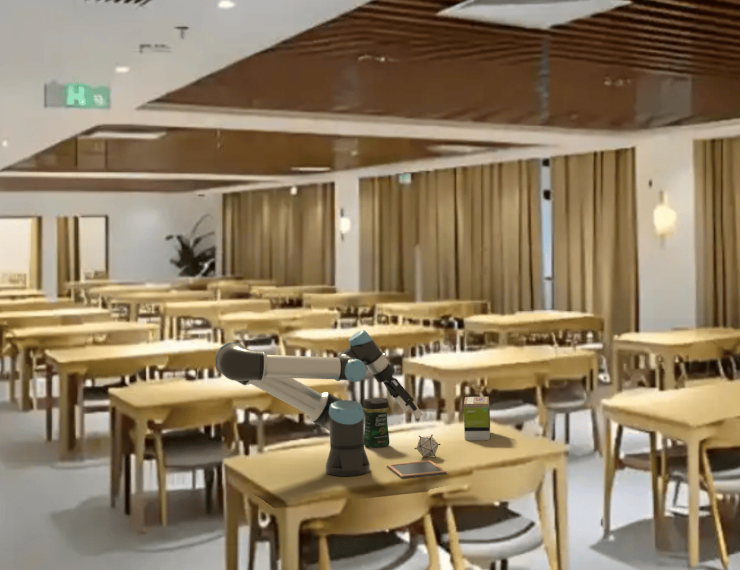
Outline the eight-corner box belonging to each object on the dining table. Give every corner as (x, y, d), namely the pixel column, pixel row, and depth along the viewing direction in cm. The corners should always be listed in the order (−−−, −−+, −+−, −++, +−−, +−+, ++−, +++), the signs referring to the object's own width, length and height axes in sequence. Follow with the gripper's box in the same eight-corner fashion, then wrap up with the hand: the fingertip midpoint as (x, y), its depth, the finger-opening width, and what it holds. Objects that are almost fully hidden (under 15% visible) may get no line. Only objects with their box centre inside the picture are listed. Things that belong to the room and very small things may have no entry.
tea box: (465, 432, 371) (464, 396, 370) (490, 432, 370) (489, 396, 369) (464, 440, 356) (463, 402, 355) (490, 440, 355) (489, 402, 354)
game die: (432, 468, 329) (438, 450, 323) (409, 459, 331) (415, 441, 325) (439, 451, 336) (445, 433, 330) (417, 442, 338) (423, 424, 332)
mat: (401, 478, 303) (401, 475, 303) (386, 467, 318) (386, 464, 318) (446, 473, 307) (446, 471, 307) (430, 462, 322) (430, 460, 322)
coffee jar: (370, 449, 345) (369, 400, 344) (360, 445, 352) (359, 397, 351) (393, 446, 349) (391, 398, 348) (382, 442, 356) (381, 395, 355)
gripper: (399, 366, 319) (433, 412, 323) (378, 357, 342) (410, 401, 347) (382, 379, 317) (417, 426, 321) (363, 370, 341) (395, 413, 345)
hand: (413, 413), depth 334 cm, fingers open, 13 cm apart
